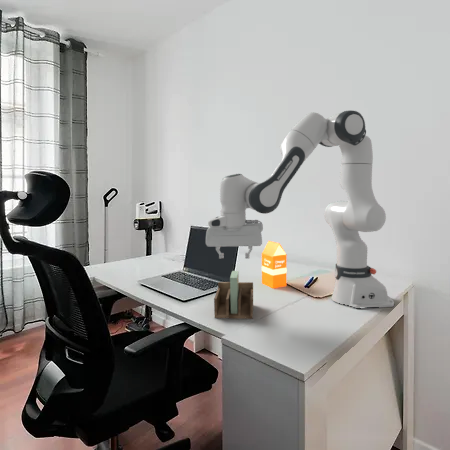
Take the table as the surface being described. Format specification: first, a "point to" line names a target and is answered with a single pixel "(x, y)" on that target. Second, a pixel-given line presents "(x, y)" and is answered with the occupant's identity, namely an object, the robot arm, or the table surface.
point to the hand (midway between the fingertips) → (234, 258)
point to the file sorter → (224, 302)
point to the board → (234, 291)
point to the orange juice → (274, 265)
